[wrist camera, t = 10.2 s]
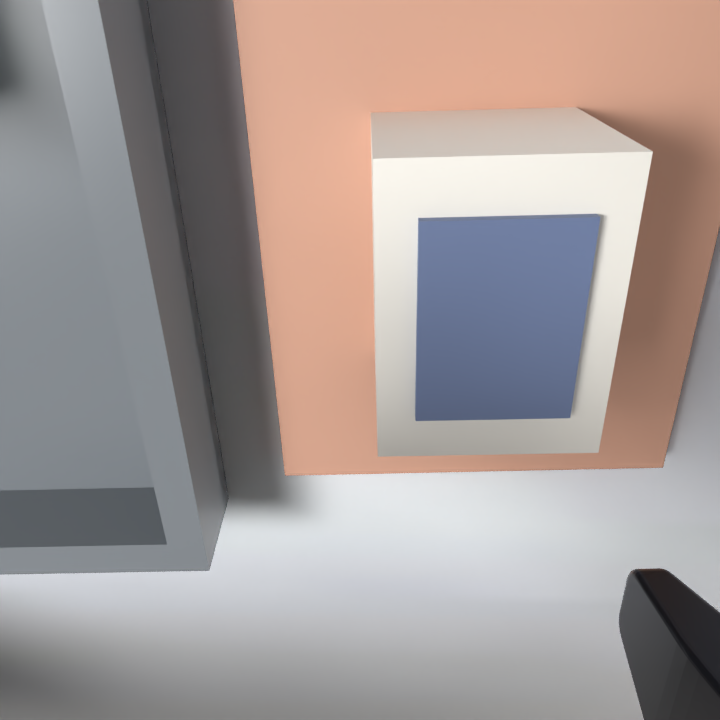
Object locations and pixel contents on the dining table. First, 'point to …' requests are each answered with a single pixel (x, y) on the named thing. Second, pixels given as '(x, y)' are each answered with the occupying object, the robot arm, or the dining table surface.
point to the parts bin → (97, 306)
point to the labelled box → (499, 277)
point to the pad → (468, 92)
